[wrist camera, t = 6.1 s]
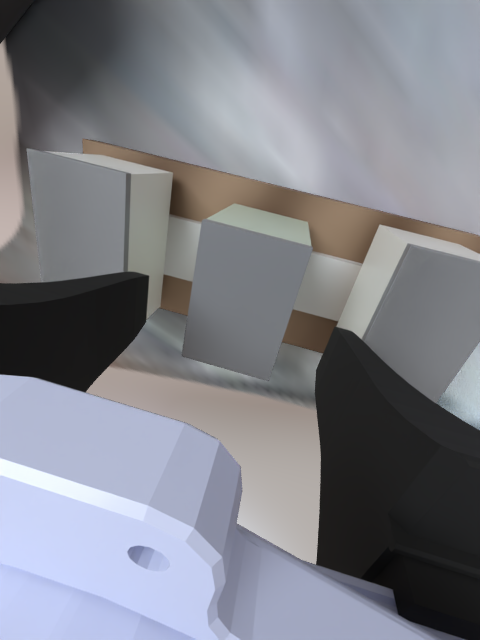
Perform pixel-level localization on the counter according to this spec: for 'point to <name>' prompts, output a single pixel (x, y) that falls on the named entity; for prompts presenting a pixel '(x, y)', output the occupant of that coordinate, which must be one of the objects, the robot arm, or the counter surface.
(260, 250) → the block
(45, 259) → the mounted modules
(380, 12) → the counter surface
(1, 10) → the leaning round-cornered charcoal block
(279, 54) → the counter surface
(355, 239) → the rail board
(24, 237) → the counter surface
